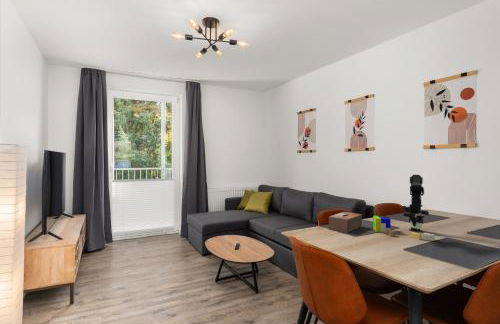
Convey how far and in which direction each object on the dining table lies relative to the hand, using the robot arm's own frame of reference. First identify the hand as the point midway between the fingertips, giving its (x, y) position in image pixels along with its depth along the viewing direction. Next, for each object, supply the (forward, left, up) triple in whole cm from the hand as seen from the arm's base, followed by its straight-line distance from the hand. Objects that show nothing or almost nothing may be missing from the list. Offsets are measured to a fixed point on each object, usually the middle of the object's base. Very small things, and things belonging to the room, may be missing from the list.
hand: (415, 226), depth 193 cm
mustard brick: (0, 0, -8) cm, 8 cm away
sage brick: (0, 0, -1) cm, 1 cm away
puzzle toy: (+4, -24, -8) cm, 26 cm away
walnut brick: (+9, -13, -8) cm, 18 cm away
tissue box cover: (+22, -42, -9) cm, 48 cm away
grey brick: (-6, +5, -8) cm, 11 cm away
